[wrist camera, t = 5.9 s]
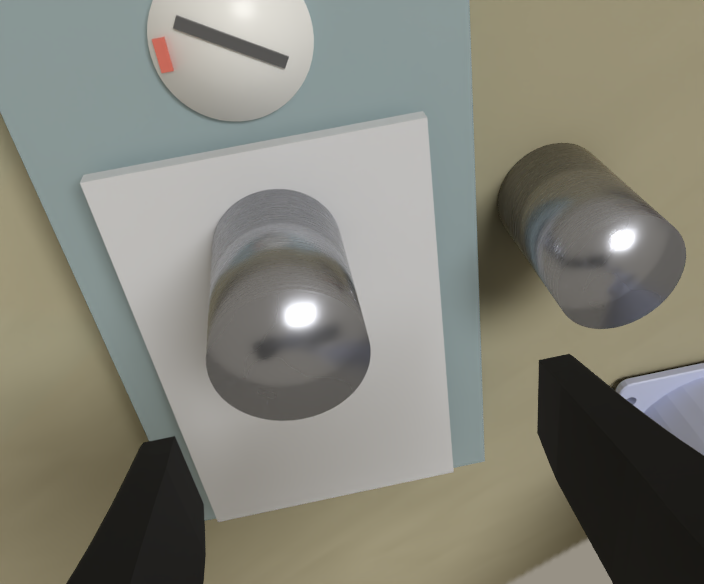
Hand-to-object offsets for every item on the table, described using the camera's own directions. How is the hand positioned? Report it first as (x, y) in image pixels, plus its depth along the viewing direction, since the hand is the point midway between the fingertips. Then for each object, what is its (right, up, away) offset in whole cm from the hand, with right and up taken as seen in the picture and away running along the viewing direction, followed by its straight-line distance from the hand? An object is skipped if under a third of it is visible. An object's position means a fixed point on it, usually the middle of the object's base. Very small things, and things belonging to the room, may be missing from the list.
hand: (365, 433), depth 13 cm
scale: (-2, +4, +9) cm, 10 cm away
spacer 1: (-2, +4, +6) cm, 7 cm away
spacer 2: (+6, +6, +9) cm, 13 cm away
